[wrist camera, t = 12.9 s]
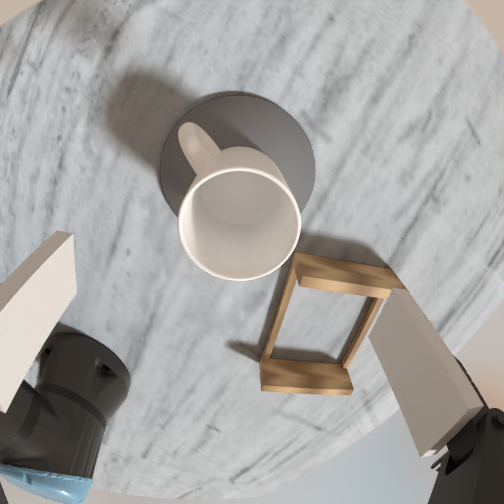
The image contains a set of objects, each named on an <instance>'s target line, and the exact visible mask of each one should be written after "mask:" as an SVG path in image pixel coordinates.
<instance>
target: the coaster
mask: <svg viewBox="0 0 504 504" xmlns="http://www.w3.org/2000/svg"><path fill="white" fill-rule="evenodd" d="M187 122H192V123H194V124H197V125H198V126H199V127H201V128H202V129H203V130H204V131H205V132H206V133H207V134H208V135H209V136H210V137H211V139H212V140H213V141H214V142H215V144H216V145H217V146H218V147H219V149H220V150H223V149H227V148H231V147H238V146H239V147H249V148H253V149H256V150H258V151H260V152H262V153H264V154H265V155H267V156H268V157H269V158H270V159H271V160H272V161H273V162H274V163H275V164H276V166H277V167H278V169H279V170H280V172H281V174H282V176H283V178H284V180H285V181H286V183H287V185H288V187H289V189H290V191H291V192H292V194H293V196H294V198H295V200H296V202H297V205H298V208H299V212H300V214H301V212H302V211H303V209H304V208H305V206H306V204H307V202H308V200H309V198H310V196H311V193H312V190H313V186H314V181H315V159H314V154H313V150H312V147H311V144H310V141H309V139H308V137H307V135H306V133H305V132H304V130H303V129H302V127H301V126H300V125H299V123H298V122H297V121H296V120H295V119H294V118H293V117H292V116H291V115H290V114H288V113H287V112H286V111H285V110H283V109H282V108H280V107H279V106H277V105H275V104H273V103H271V102H268V101H266V100H263V99H260V98H256V97H251V96H226V97H220V98H216V99H213V100H210V101H208V102H205V103H203V104H201V105H199V106H198V107H196V108H194V109H193V110H191V111H190V112H189V113H188V114H186V115H185V116H184V117H183V118H182V119H181V120H180V121H179V122H178V123H177V125H176V126H175V127H174V129H173V130H172V132H171V133H170V135H169V137H168V139H167V141H166V143H165V146H164V149H163V153H162V157H161V165H160V176H161V184H162V188H163V192H164V195H165V197H166V200H167V202H168V204H169V206H170V208H171V209H172V211H173V212H174V213H175V215H176V216H177V217H178V214H179V209H180V206H181V204H182V201H183V199H184V197H185V195H186V194H187V192H188V190H189V188H190V186H191V184H192V183H193V181H194V179H195V177H196V176H197V174H196V173H195V171H194V170H193V168H192V166H191V165H190V163H189V161H188V160H187V158H186V156H185V154H184V152H183V150H182V148H181V145H180V143H179V138H178V131H179V128H180V127H181V126H182V125H183V124H184V123H187Z"/></svg>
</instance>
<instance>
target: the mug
mask: <svg viewBox="0 0 504 504" xmlns="http://www.w3.org/2000/svg"><path fill="white" fill-rule="evenodd" d="M178 138H179V143H180V145H181V148H182V150H183V152H184V154H185V156H186V158H187V160H188V161H189V163H190V165H191V166H192V168H193V170H194V171H195V173H196V174H197V176H196V177H195V179H194V181H193V183H192V184H191V186H190V188H189V190H188V192H187V194H186V195H185V197H184V199H183V201H182V204H181V206H180V209H179V214H178V233H179V238H180V241H181V243H182V246H183V248H184V250H185V251H186V253H187V254H188V256H189V257H190V258H191V260H192V261H193V262H194V263H195V264H196V265H197V266H199V267H200V268H201V269H203V270H204V271H206V272H207V273H209V274H211V275H214V276H216V277H219V278H223V279H227V280H234V281H243V280H251V279H256V278H259V277H262V276H265V275H267V274H269V273H271V272H272V271H274V270H276V269H277V268H278V267H280V266H281V265H282V264H283V263H284V262H285V261H286V260H287V259H288V258H289V256H290V255H291V254H292V252H293V250H294V248H295V246H296V244H297V242H298V239H299V235H300V228H301V217H300V212H299V208H298V205H297V202H296V200H295V198H294V196H293V194H292V192H291V191H290V189H289V187H288V185H287V183H286V181H285V180H284V178H283V176H282V174H281V172H280V170H279V169H278V167H277V166H276V164H275V163H274V162H273V161H272V160H271V159H270V158H269V157H268V156H267V155H265V154H264V153H262V152H260V151H258V150H256V149H253V148H249V147H239V146H238V147H231V148H227V149H223V150H220V149H219V147H218V146H217V145H216V144H215V142H214V141H213V140H212V139H211V137H210V136H209V135H208V134H207V133H206V132H205V131H204V130H203V129H202V128H201V127H199V126H198V125H197V124H194V123H192V122H187V123H184V124H183V125H182V126H181V127H180V128H179V131H178Z"/></svg>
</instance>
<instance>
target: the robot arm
mask: <svg viewBox="0 0 504 504" xmlns="http://www.w3.org/2000/svg"><path fill="white" fill-rule="evenodd" d="M76 293H77V285H76V274H75V261H74V244H73V234H72V233H67V232H62V231H56V232H55V233H54V234H53V235H52V236H51V237H49V238H48V239H47V240H46V241H45V242H44V243H43V244H42V245H41V246H40V247H39V248H37V249H36V250H35V251H34V252H33V253H32V254H31V255H30V256H29V257H28V258H27V259H26V260H25V261H24V262H23V263H22V264H21V265H20V266H19V267H18V268H17V269H16V270H15V271H14V272H13V273H12V274H11V275H10V276H9V277H8V278H7V279H6V280H5V281H4V282H3V283H2V284H1V285H0V475H1V476H2V477H3V478H5V479H6V480H7V481H9V482H10V483H12V484H14V485H16V486H18V487H20V488H22V489H24V490H26V491H28V492H31V493H33V494H35V495H38V496H41V497H44V498H46V499H49V500H52V501H56V502H60V503H64V504H81V503H83V502H84V501H85V499H86V497H87V494H88V491H89V488H90V485H91V483H92V482H93V479H92V477H93V473H94V469H95V465H96V461H97V457H98V454H99V450H100V446H101V442H102V439H103V435H104V431H105V428H106V425H107V422H108V421H109V419H110V418H111V417H112V416H113V414H114V413H115V412H116V411H117V410H118V408H119V407H120V406H121V405H122V403H123V402H124V401H125V399H126V397H127V395H128V392H129V388H130V384H131V380H130V375H129V373H128V370H127V369H126V367H125V365H124V364H123V363H122V361H121V360H120V359H119V358H118V357H117V356H116V355H115V354H114V353H113V352H111V351H110V350H109V349H108V348H106V347H105V346H103V345H102V344H100V343H98V342H96V341H94V340H92V339H90V338H88V337H85V336H82V335H79V334H74V333H58V334H55V335H53V336H51V337H50V338H49V339H48V341H47V342H46V344H45V346H44V347H43V349H42V351H41V354H40V360H39V367H38V374H37V382H36V386H35V388H33V387H32V386H31V385H30V384H29V383H28V382H26V381H25V380H24V377H25V375H26V373H27V372H28V370H29V368H30V366H31V365H32V363H33V361H34V359H35V358H36V356H37V354H38V353H39V351H40V349H41V348H42V346H43V344H44V343H45V341H46V339H47V338H48V336H49V334H50V333H51V331H52V330H53V328H54V327H55V325H56V323H57V322H58V320H59V319H60V317H61V316H62V314H63V313H64V311H65V310H66V308H67V307H68V305H69V304H70V302H71V301H72V299H73V298H74V296H75V295H76ZM369 339H370V341H371V343H372V345H373V348H374V350H375V352H376V354H377V356H378V358H379V361H380V363H381V365H382V367H383V369H384V372H385V374H386V376H387V378H388V381H389V383H390V385H391V387H392V390H393V392H394V394H395V397H396V399H397V401H398V404H399V406H400V408H401V411H402V413H403V416H404V418H405V420H406V423H407V425H408V427H409V430H410V433H411V435H412V438H413V440H414V443H415V445H416V448H417V451H418V453H419V456H420V458H421V457H426V456H430V455H434V454H436V453H438V452H439V451H440V450H441V449H442V448H443V447H444V446H445V445H447V447H448V451H447V452H446V453H445V454H444V455H443V456H442V457H441V458H439V459H438V460H437V461H436V462H435V463H434V464H433V465H432V466H431V468H432V469H433V468H435V467H436V466H437V465H438V464H439V463H441V466H440V467H439V468H438V469H437V470H436V471H438V475H437V479H436V482H435V485H434V488H433V491H432V493H431V496H430V499H429V502H428V504H504V412H503V411H501V410H500V409H497V408H491V409H489V408H488V406H487V404H486V403H485V401H484V399H483V398H482V396H481V394H480V393H479V391H478V389H477V387H476V386H475V384H474V383H473V382H472V381H471V380H472V379H471V378H470V376H469V375H468V374H467V372H466V370H465V368H464V367H463V365H462V364H461V362H460V361H459V360H458V359H456V358H455V357H454V356H453V355H452V353H451V352H450V350H449V349H448V347H447V346H446V344H445V343H444V341H443V340H442V338H441V337H440V335H439V334H438V332H437V331H436V330H435V328H434V327H433V325H432V324H431V322H430V321H429V320H428V318H427V317H426V315H425V314H424V313H423V311H422V310H421V308H420V307H419V306H418V304H417V303H416V302H415V300H414V299H413V297H412V296H411V295H410V293H409V292H408V291H407V290H406V289H399V288H392V291H391V293H390V295H389V297H388V299H387V301H386V303H385V305H384V307H383V309H382V311H381V313H380V315H379V317H378V319H377V321H376V323H375V325H374V327H373V329H372V331H371V333H370V335H369ZM0 504H8V501H7V499H6V496H5V494H4V491H3V488H2V485H1V483H0Z"/></svg>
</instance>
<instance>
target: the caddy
mask: <svg viewBox="0 0 504 504" xmlns="http://www.w3.org/2000/svg"><path fill="white" fill-rule="evenodd" d="M296 279H297V280H298V283H299V286H300V287H307V288H314V289H320V290H327V291H334V292H341V293H348V294H355V295H362V296H369V297H374V298H373V301H372V303H371V305H370V307H369V309H368V311H367V313H366V315H365V317H364V319H363V322H362V324H361V326H360V328H359V330H358V332H357V334H356V335H355V337H354V339H353V341H352V343H351V345H350V347H349V349H348V351H347V353H346V355H345V356H344V358H343V360H342V362H341V364H333V363H317V362H304V361H292V360H282V359H272V358H270V355H271V352H272V350H273V347H274V344H275V341H276V338H277V335H278V333H279V330H280V327H281V324H282V321H283V318H284V315H285V312H286V309H287V306H288V303H289V300H290V297H291V294H292V291H293V288H294V285H295V282H296ZM392 288H399V289H406V287H405V286H404V285H403V283H402V282H401V281H400V279H399V278H398V277H397V275H396V274H395V273H394V271H393V270H392V269H386V268H381V267H375V266H370V265H364V264H359V263H354V262H348V261H343V260H337V259H332V258H326V257H321V256H315V255H309V254H304V253H298V252H295V253H294V256H293V260H292V263H291V266H290V270H289V273H288V276H287V279H286V283H285V286H284V289H283V292H282V295H281V298H280V302H279V305H278V308H277V311H276V314H275V317H274V320H273V323H272V326H271V330H270V333H269V336H268V339H267V342H266V345H265V348H264V351H263V354H262V357H261V360H260V363H259V366H260V380H261V391H267V392H280V393H296V394H318V395H351V393H352V392H353V390H354V389H353V386H352V383H351V380H350V377H349V374H348V371H347V368H348V366H349V365H350V363H351V361H352V359H353V357H354V356H355V354H356V352H357V350H358V348H359V347H360V345H361V343H362V341H363V339H364V337H365V335H366V333H367V332H368V330H369V328H370V326H371V324H372V322H373V320H374V318H375V316H376V314H377V312H378V310H379V308H380V306H381V304H382V302H383V299H388V297H389V295H390V293H391V291H392ZM406 290H407V289H406ZM407 291H408V290H407ZM408 292H409V291H408Z"/></svg>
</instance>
